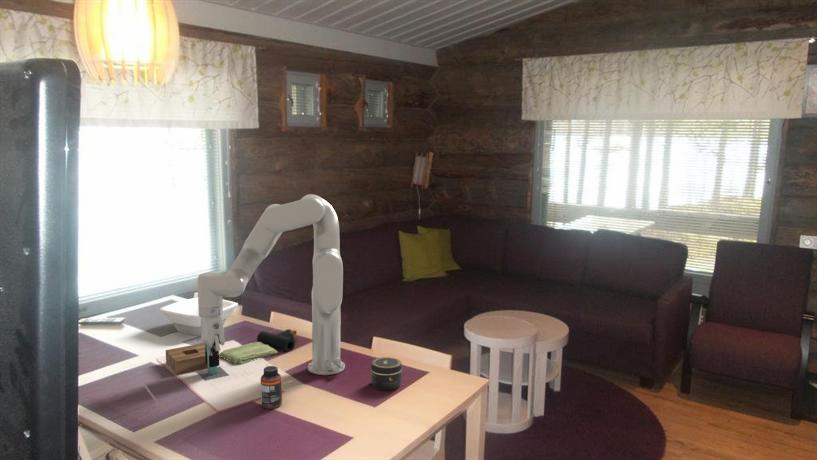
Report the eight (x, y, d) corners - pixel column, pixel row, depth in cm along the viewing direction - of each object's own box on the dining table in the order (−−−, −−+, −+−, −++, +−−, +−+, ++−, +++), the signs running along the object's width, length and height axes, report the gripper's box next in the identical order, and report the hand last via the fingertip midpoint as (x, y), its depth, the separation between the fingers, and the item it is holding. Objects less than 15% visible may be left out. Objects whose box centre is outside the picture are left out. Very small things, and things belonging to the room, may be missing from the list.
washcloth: (279, 355, 211) (279, 346, 211) (237, 368, 198) (237, 359, 198) (258, 346, 220) (258, 338, 219) (216, 358, 207) (216, 350, 206)
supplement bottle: (273, 398, 173) (272, 362, 172) (286, 404, 170) (285, 367, 168) (256, 405, 169) (256, 368, 167) (269, 411, 165) (268, 373, 163)
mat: (229, 376, 190) (229, 375, 190) (204, 381, 185) (204, 380, 185) (220, 367, 197) (220, 366, 197) (196, 372, 192) (196, 371, 192)
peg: (218, 373, 191) (217, 344, 189) (209, 375, 189) (208, 346, 188) (215, 371, 193) (214, 342, 192) (206, 373, 191) (205, 344, 190)
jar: (376, 393, 179) (376, 369, 178) (366, 381, 188) (366, 358, 187) (406, 388, 182) (406, 365, 181) (395, 377, 192) (395, 355, 190)
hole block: (216, 367, 197) (215, 353, 196) (176, 375, 189) (176, 361, 189) (204, 356, 207) (203, 343, 207) (166, 363, 200) (165, 350, 199)
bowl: (199, 318, 254) (199, 295, 253) (244, 326, 243) (243, 302, 242) (154, 333, 233) (153, 308, 231) (200, 343, 222) (199, 317, 220)
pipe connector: (278, 324, 229) (306, 331, 221) (279, 337, 230) (307, 345, 222) (256, 332, 220) (285, 340, 212) (257, 346, 221) (285, 354, 213)
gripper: (230, 314, 184) (232, 370, 186) (213, 303, 197) (215, 355, 199) (207, 318, 179) (209, 375, 182) (191, 306, 192) (193, 359, 195)
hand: (212, 364), depth 191 cm, fingers closed on peg, 3 cm apart
